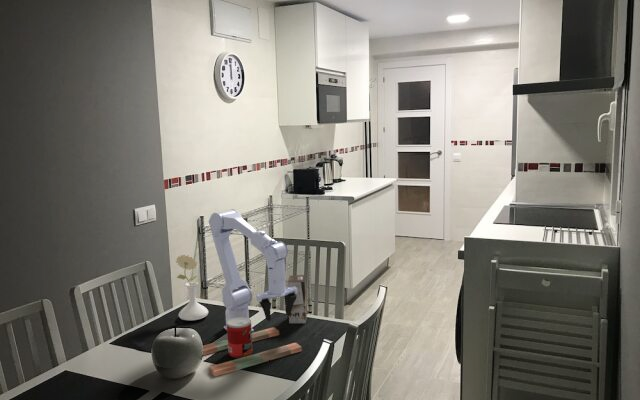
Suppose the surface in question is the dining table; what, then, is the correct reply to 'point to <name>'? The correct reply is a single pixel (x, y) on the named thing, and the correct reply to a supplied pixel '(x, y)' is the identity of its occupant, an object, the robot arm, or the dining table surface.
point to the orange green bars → (251, 359)
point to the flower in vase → (190, 292)
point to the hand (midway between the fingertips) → (278, 317)
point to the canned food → (239, 337)
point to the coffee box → (298, 299)
